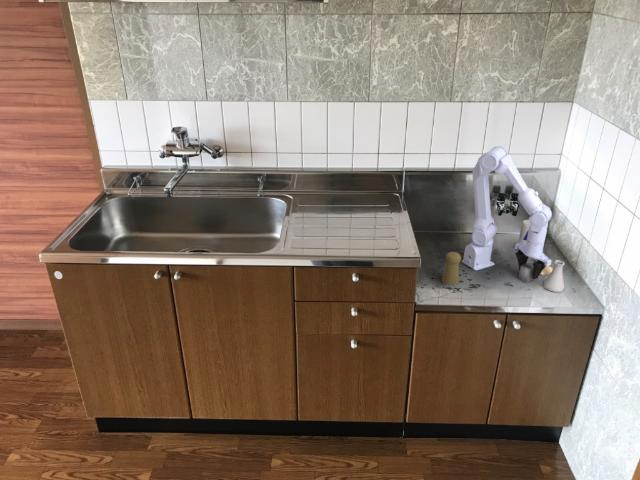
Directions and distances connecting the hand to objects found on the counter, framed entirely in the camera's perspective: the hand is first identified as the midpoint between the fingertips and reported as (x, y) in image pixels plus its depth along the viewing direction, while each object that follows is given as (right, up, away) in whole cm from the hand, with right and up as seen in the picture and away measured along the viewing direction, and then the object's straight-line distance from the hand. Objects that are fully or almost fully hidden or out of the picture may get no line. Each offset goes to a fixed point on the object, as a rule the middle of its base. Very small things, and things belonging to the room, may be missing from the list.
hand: (528, 274), depth 185 cm
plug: (0, -1, +1) cm, 1 cm away
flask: (+7, -4, -5) cm, 9 cm away
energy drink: (+6, +8, +19) cm, 22 cm away
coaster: (+7, +1, +6) cm, 9 cm away
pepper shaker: (-28, -2, -1) cm, 28 cm away
